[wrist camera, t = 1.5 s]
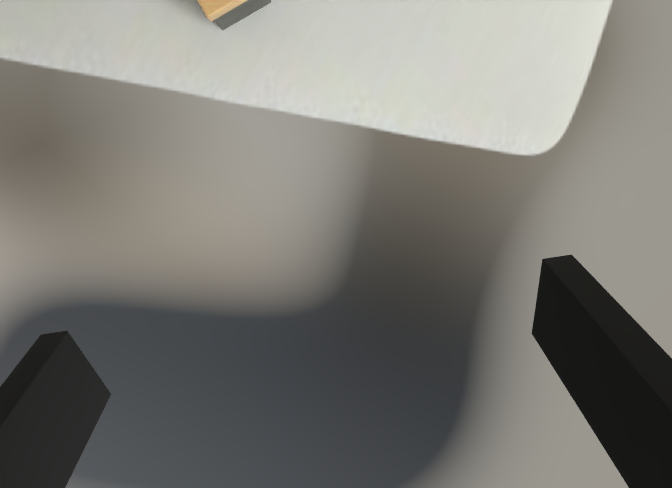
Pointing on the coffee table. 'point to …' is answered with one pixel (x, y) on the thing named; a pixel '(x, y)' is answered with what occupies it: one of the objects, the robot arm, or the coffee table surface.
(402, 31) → the coffee table surface
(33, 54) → the coffee table surface
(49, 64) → the coffee table surface
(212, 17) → the brush
